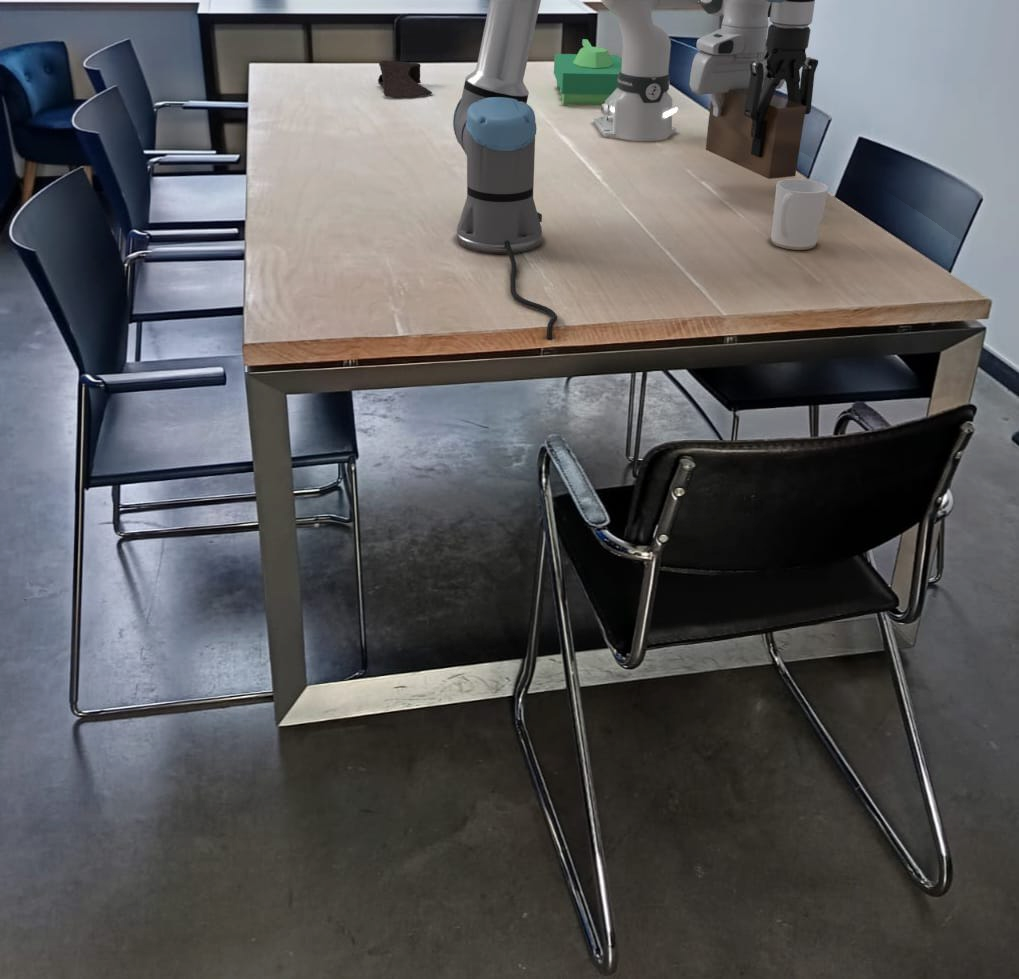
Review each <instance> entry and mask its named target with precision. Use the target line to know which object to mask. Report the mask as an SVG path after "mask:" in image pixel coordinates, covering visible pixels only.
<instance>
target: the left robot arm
mask: <svg viewBox="0 0 1019 979" xmlns="http://www.w3.org/2000/svg"><path fill="white" fill-rule="evenodd" d="M541 1H542V0H489V3H488V9H487V12H486V13H487V14H486V19H485V22H484V23H485V24H484V28H483V34H482V39H481V43H480V49H479V53H478V58H477V62H476V63H477V64H476V68H475V70H474V71H473V72H471V73H469V74H468V75H467V76H465V80H464V85H463V88H462V94H461V98H460V99H459V100H458V102H457V104H456V107H455V109H454V112H453V118H452V125H453V126H452V127H453V132H454V135H455V139H456V141H457V143H458V144H459V145H460V147H461V149H462V150H463V152H464V154H465V155H466V192H467V193H466V198H465V202H464V205H463V209H462V211H461V214H460V218H459V220H458V224H457V228H456V241H457V243H458V244H459V245H461V246H462V247H464V248H466V249H468V250H470V251H475V252H479V253H486V254H497V255H499V254H500V255H506V254H507V255H508V258H509V262H510V265H511V272H510V276H509V282H510V283H509V290H510V294H511V296H512V297H513V298H514V300H516V301H517V302H519V303H520V304H522V305H524V306H527V307H530V308H533V309H536V310H539V311H541V312H544V313H545V314H547V315H549V316H550V320H549V321H548V323H547V327H546V340H547V341H552V340H553V328H554V325H555V323H556V322H557V321H558V315H557V314H556V312H555V311H554V310H552V308H549V307H548V306H545V305H543V304H540V303H537V302H534V301H531V300H528V299H526V298H524V297H522V296H521V295H519V294H518V293H517V290H516V275H517V262H516V259H515V255H514V254H517V253H524V252H527V251H530V250H533V249H536V248H538V247H539V246H540V245H541V244H542V243H543V229H542V224H541V223H542V222H543V214H542V213H540V212H538V210H537V206H536V204H535V199H534V184H535V181H534V180H535V157H536V156H535V154H536V152H535V151H536V135H537V123H536V114H535V111H534V109H533V108H532V106H530V105H529V104H528V99H529V94H530V92H529V90H528V87H527V86H526V85H525V83H524V77H525V74H526V69H527V64H528V59H529V55H530V51H531V47H532V42H533V38H534V33H535V28H536V25H537V20H538V16H539V10H540V6H541ZM766 1H768V2H772V6H771V13H770V17H769V22H770V23H771V24H770V25H768V31H767V38H766V39H767V42H766V45H767V52H766V55H765V56H764V59H762V60H760V61H757V62H756V61H752V62H751V63H750V70H751V77H750V82H749V87H748V93H747V98H746V103H745V109H744V116H746V117H749V118H751V119H752V126H751V134H750V135H751V137H752V138H753V141H752V149H751V154H752V155H754V156H757V157H762V154H763V147H764V139H765V132H766V125H767V122H766V121H763V120H764V117H765V115H766V112H767V110H768V107H769V104H770V102H771V99H772V97H773V95H775V92H776V90H777V89H776V87H777V86H778V85H779V84H780V81H781V80H783V79H784V80H785V82H784V83H785V86H786V96H787V100H790V101H793V102H795V103H798V104H801V105H804V106H806V110H805V115H809V114H810V113H811V112H812V103H813V92H814V84H815V83H814V82H815V73H816V71H817V68H818V65H819V60H818V59H816V58H813V57H809V56H808V57H807V53H806V50H807V49H808V48H809V43H810V36H811V31H812V30H811V28H810V27H809V26H810V25H811V24H812V23H813V17H814V11H815V3H816V0H766ZM765 67H766V68H767V72H766V74H765V77H764V72H765V71H766V69H765ZM800 70H801V73H800ZM763 78H764V84H763ZM772 78H774V79H772ZM762 84H763V87H762Z"/></svg>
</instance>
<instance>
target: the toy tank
mask: <svg viewBox="0 0 1019 979" xmlns="http://www.w3.org/2000/svg"><path fill="white" fill-rule="evenodd" d="M581 41H582V42H581V44H582V46H583V47H581V48H580V49H579V50H578V52H577V53H554V57H553V60H554V61H553V75H554V77H555V80H556V88H557V89H559V92H560V94H561V103H562V106H601V105H602V104H605V101H606V99H607V98H608V97H609V96H610V95H611V94H612V93H613V92H614V91H615V90H616V89H617V86H616V85H617V79H618V76H619V72H621V67H622V58H620V57H619V55H618V54H610V52H609V50H608V49H607V48H604V47H598V46H592V44H591V42H590V41H589V39H587V38H586V39H585V38H583V39H582V40H581Z"/></svg>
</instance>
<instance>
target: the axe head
mask: <svg viewBox="0 0 1019 979" xmlns="http://www.w3.org/2000/svg"><path fill="white" fill-rule="evenodd" d="M378 66H379V68H380V72H381V74H379V75H378V79H377V84H378V85H379V86H380V87H381V88H382V89H383V95H384V96H385V97H388V98H394V99H395V98H396V99H403V98H405V99H406V98H407V99H411V98H418V97H425V96H429V95H432V94H433V91H431V90H430V89H428V88H427V87H425V86H422V85H421V84H422V82H421V63H419V62H410V61H408V62H407V61H397V60H388V59H387V60H380V61H379V62H378Z"/></svg>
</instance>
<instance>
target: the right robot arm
mask: <svg viewBox="0 0 1019 979" xmlns="http://www.w3.org/2000/svg"><path fill="white" fill-rule="evenodd" d="M600 1H601V3H602V4H603V5H604V7H606V8H607V9H608V10H609V11H610V12H611V14H612V15H613V16H614V18H615V19H616V22H617V24H618V26H619V30H620V35H621V61H622V67H621V72H619V76H618V79H617V85H616V86H617V89H616V90H615V91H614V92H613V93H612V94H611V95H610V96H609V97H608V98H607V99H606V101H605V104H602V105H600V113H601V114H602V115H603V116H601V117H596V118H594V120H593V124H594V126H595V127H596V128H597V130H598V131H599V133H600V134H601V136H602V137H605V138H610V139H611V138H612V139H613V138H614V139H619V140H626V141H633V142H635V141H636V142H655V141H663V140H665V139H668V138H670V136H672V135H674V134H676V133H677V128H676V127H673V114H675V113H677V111H678V107H674V108H673V102H674V101H673V97H672V96H671V95H670V94H669V92H668V91H669V90H670V84H671V74H670V73H669V69H670V61H671V60H670V59H671V48H672V42H671V38H670V36H669V35H668V33H667V31H665V30H664V29H663V28H660V27H659V26H657V25H656V24H654V22H653V19H652V18H653V17H652V10H670V9H671V10H673V9H681V8H686V7H689V6H692V5H695V4H697V3H699V5H700V6H701V8H702V9H703V11H705V13H707V14H708V15H712V16H718V17H719V16H720V17H721V16H722V17H723V18H722V21H721V27H720V28H718V29H717V30H715V31H713V32H710V33H708V34H706V35H703V36H701V37H699V38H698V39H697V41H696V49H697V50H698V52H697V53H696V54H695V55H694V57H693V60H692V64H691V69H690V77H689V88H690V89H691V90H690V91H691V92H692V93H694V94H698V95H709V99H710V103H711V102H712V104H713V106H714V108H713V115H714V116H723V115H724V107H723V106H721V105H720V102H719V99H721V96H722V93H728V92H729V90H736V89H748V87H749V82H750V77H751V70H750V63H751V62H752V61H756V62H757V61H760V60H762V59H764V56H765V55H766V52H767V45H766V42H767V34H768V27H769V18H770V13H771V6H772V2H768V1H766V0H600ZM765 69H766V71H765V72H764V77H765V74H766V72H767V68H766V67H765ZM772 79H774V78H772ZM785 83H786V82H785V80H784V79H783V80H781V81H780V84H779V85H778V86H777V87H776V89H775V90H780V89H781V88H782V87H783V86H784V84H785ZM763 84H764V78H763ZM763 84H762V87H763Z"/></svg>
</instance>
